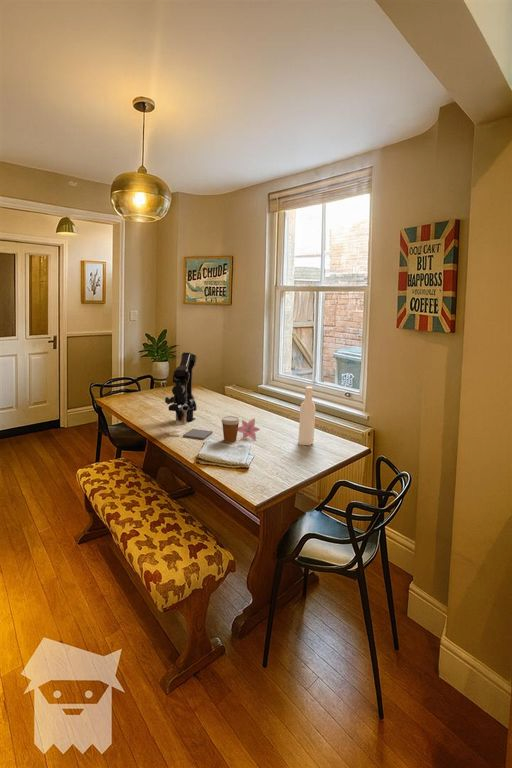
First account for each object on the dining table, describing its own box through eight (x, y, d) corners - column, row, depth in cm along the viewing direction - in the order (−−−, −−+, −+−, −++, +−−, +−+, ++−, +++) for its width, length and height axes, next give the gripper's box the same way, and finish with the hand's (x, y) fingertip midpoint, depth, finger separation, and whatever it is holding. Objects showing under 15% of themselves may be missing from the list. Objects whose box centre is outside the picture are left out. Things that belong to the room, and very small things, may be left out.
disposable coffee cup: (217, 439, 221) (217, 417, 219) (232, 436, 227) (233, 415, 225) (227, 444, 214) (228, 422, 211) (242, 441, 219) (243, 419, 217)
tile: (176, 429, 233) (169, 433, 225) (186, 430, 231) (179, 434, 224) (176, 431, 233) (169, 435, 226) (186, 433, 232) (179, 437, 224)
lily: (232, 439, 226) (234, 427, 220) (241, 425, 235) (244, 413, 228) (252, 448, 223) (255, 436, 217) (260, 434, 232) (264, 422, 226)
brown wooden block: (178, 423, 233) (178, 409, 232) (186, 424, 232) (186, 410, 230) (175, 424, 230) (175, 410, 229) (184, 425, 229) (184, 411, 228)
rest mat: (192, 430, 235) (192, 428, 234) (212, 433, 231) (212, 431, 231) (183, 436, 223) (183, 435, 223) (204, 439, 220) (204, 437, 220)
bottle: (303, 439, 226) (306, 384, 220) (316, 443, 221) (320, 387, 215) (295, 443, 220) (298, 387, 214) (307, 447, 215) (311, 389, 209)
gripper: (175, 387, 239) (175, 414, 242) (159, 394, 221) (159, 422, 224) (193, 389, 236) (193, 416, 239) (178, 396, 218) (178, 425, 221)
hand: (181, 419), depth 231 cm, fingers closed on brown wooden block, 3 cm apart
